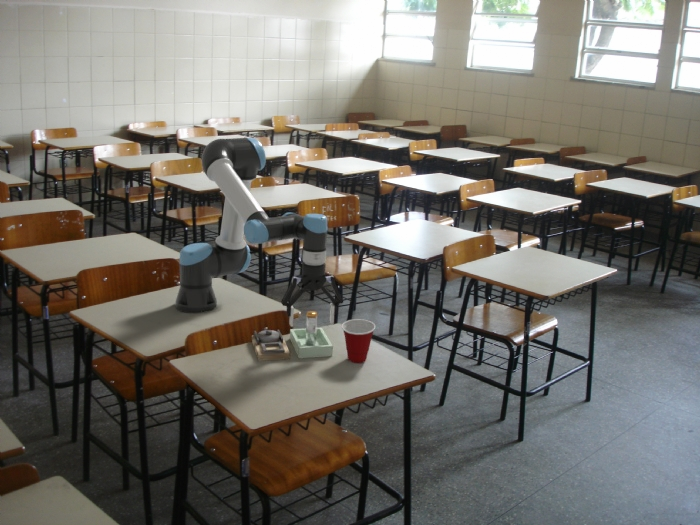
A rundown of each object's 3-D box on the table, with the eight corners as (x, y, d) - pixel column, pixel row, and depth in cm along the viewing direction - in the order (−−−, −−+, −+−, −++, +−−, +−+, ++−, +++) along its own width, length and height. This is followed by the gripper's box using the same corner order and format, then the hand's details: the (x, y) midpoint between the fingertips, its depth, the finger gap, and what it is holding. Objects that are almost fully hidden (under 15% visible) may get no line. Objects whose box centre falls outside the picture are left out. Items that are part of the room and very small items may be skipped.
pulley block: (251, 340, 237) (251, 327, 236) (281, 339, 240) (281, 325, 239) (258, 360, 223) (258, 346, 221) (289, 358, 225) (290, 344, 224)
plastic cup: (332, 360, 226) (334, 325, 223) (352, 350, 235) (354, 316, 231) (360, 370, 220) (363, 334, 217) (379, 359, 229) (382, 324, 225)
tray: (289, 338, 241) (290, 329, 240) (321, 337, 244) (321, 327, 243) (299, 358, 226) (299, 348, 225) (332, 356, 229) (332, 346, 228)
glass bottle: (304, 342, 236) (305, 311, 233) (314, 341, 237) (315, 310, 234) (306, 346, 233) (307, 314, 229) (317, 346, 234) (318, 314, 230)
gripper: (277, 266, 220) (275, 330, 226) (354, 264, 227) (351, 326, 233) (273, 259, 227) (272, 321, 233) (348, 258, 233) (345, 318, 239)
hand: (311, 324), depth 233 cm, fingers open, 13 cm apart
